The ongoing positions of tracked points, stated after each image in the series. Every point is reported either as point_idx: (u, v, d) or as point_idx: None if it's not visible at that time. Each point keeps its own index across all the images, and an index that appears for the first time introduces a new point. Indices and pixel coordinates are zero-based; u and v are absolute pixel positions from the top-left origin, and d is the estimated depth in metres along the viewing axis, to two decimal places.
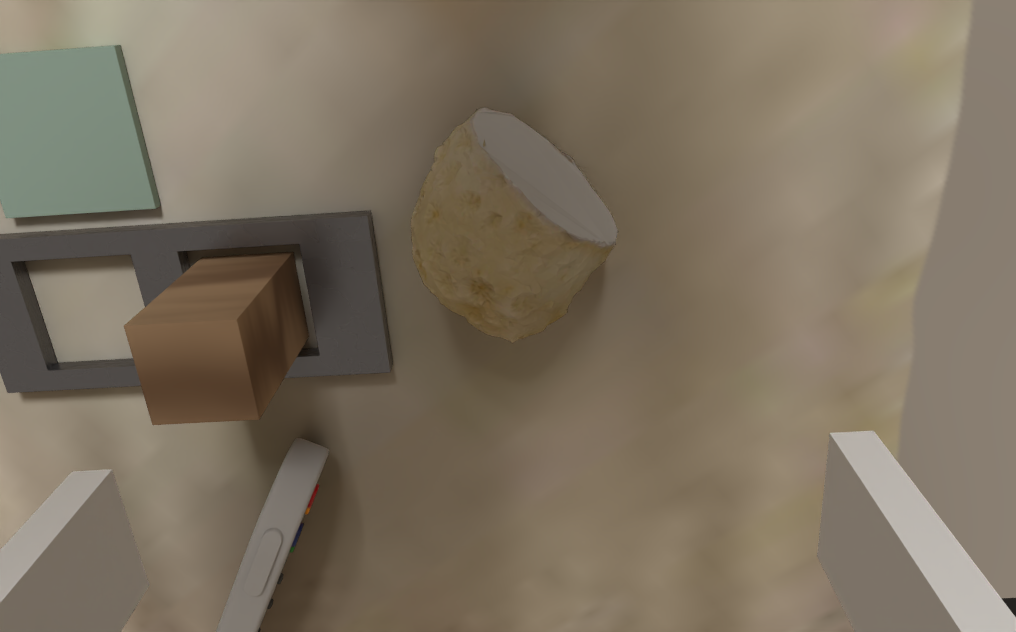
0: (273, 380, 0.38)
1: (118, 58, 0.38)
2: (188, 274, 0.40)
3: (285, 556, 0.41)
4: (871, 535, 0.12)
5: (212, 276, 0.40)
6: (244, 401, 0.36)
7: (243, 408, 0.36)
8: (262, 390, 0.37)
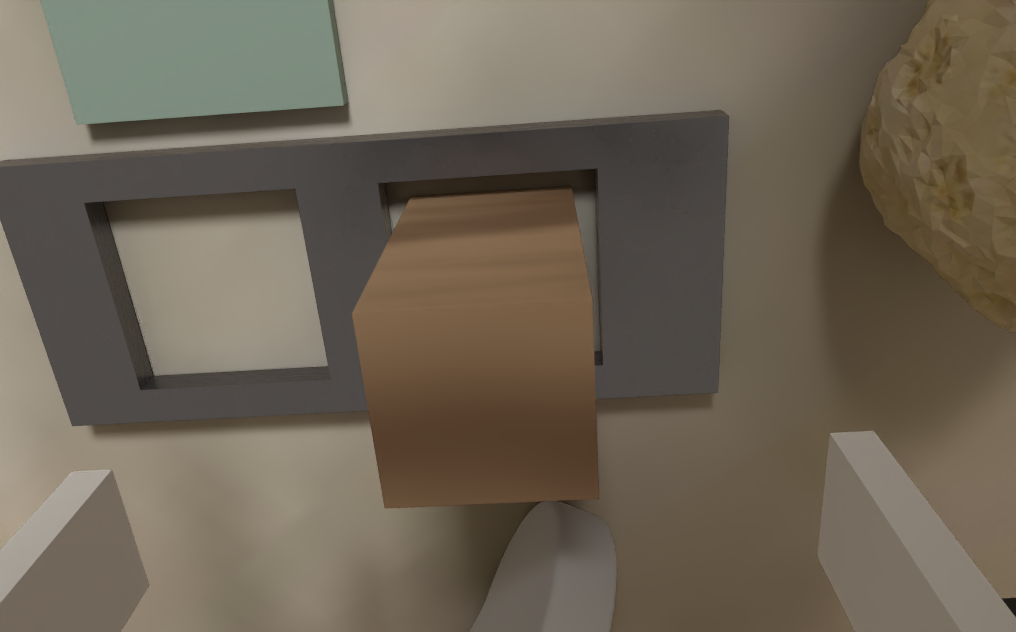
0: None
1: None
2: (409, 221, 0.22)
3: None
4: (871, 536, 0.12)
5: (460, 224, 0.22)
6: (575, 464, 0.18)
7: (571, 478, 0.18)
8: None
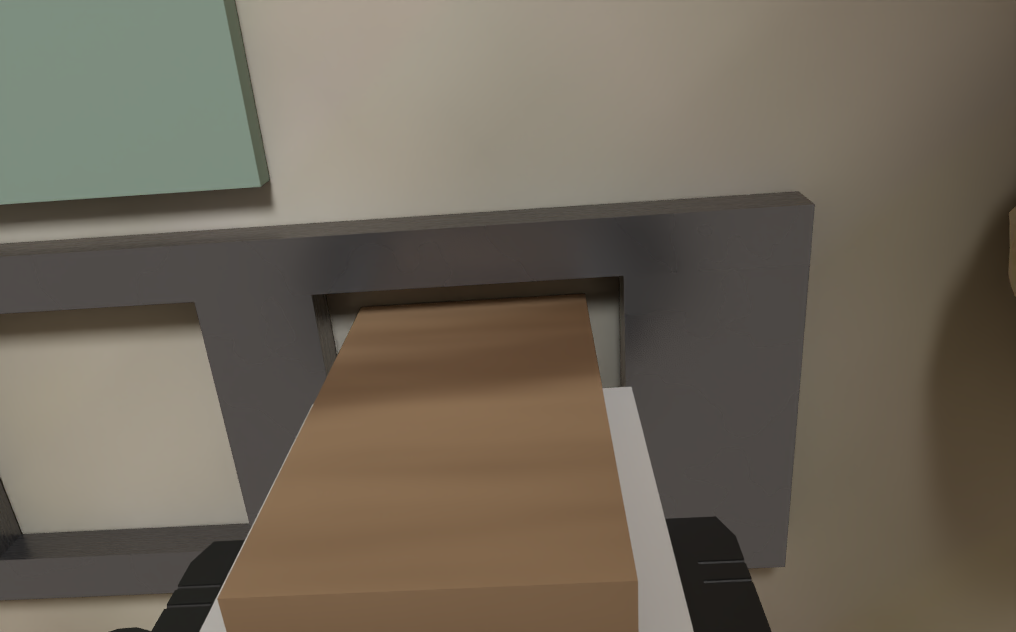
0: None
1: None
2: (352, 359, 0.15)
3: None
4: None
5: (423, 368, 0.15)
6: None
7: None
8: None
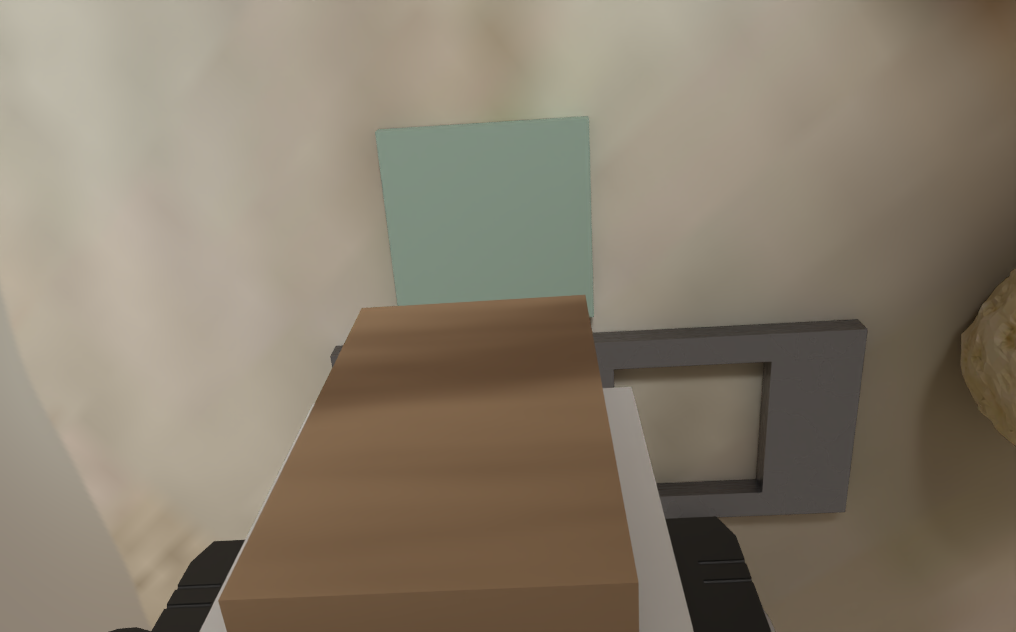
0: None
1: None
2: (352, 361, 0.15)
3: None
4: None
5: (424, 369, 0.15)
6: None
7: None
8: None
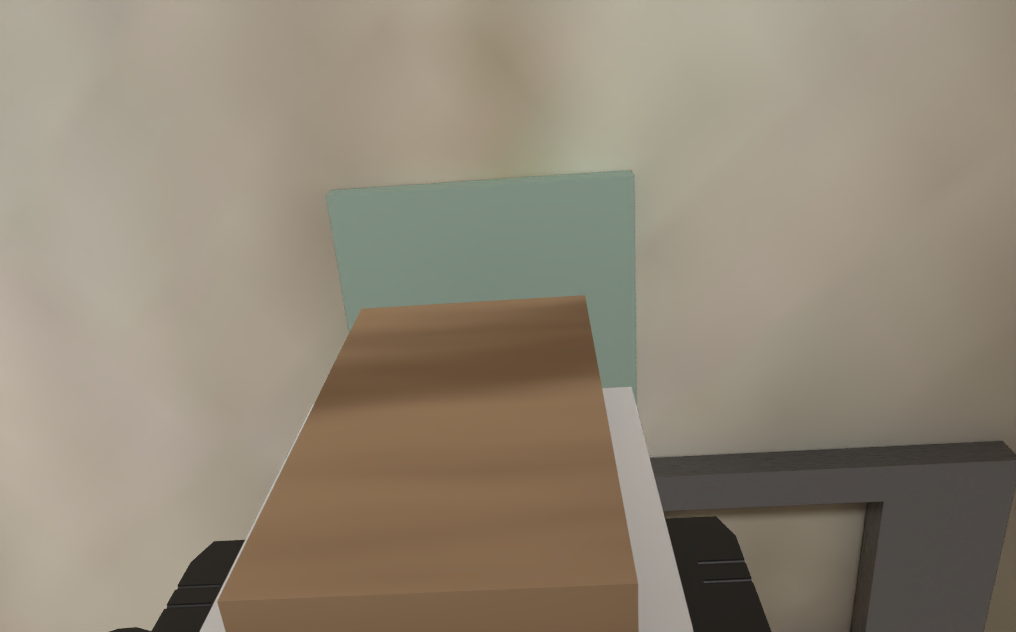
0: None
1: (634, 197, 0.20)
2: (352, 361, 0.15)
3: None
4: None
5: (423, 370, 0.15)
6: None
7: None
8: None
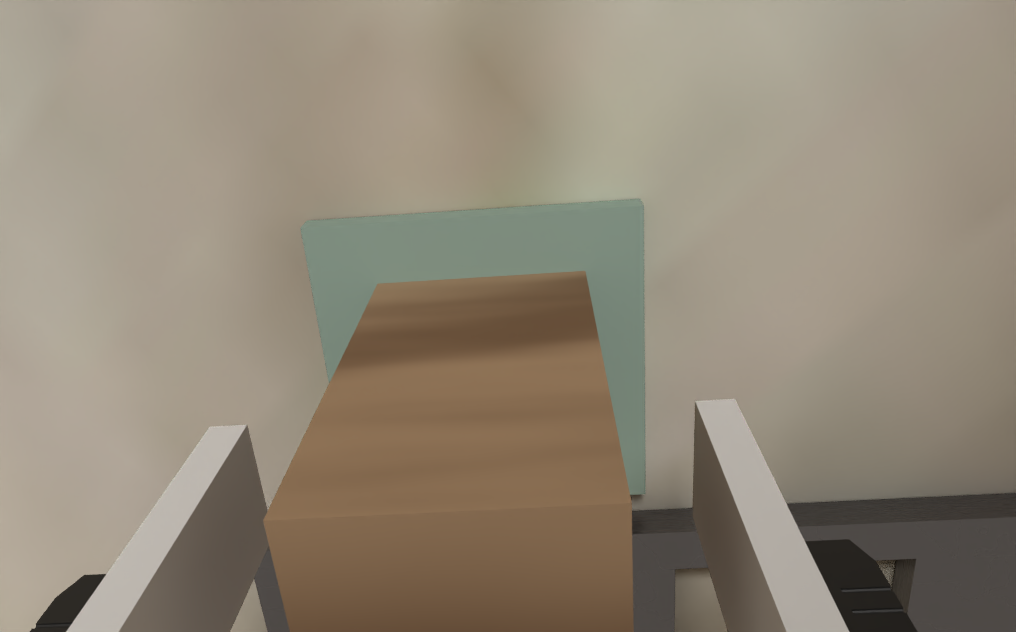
0: None
1: (643, 228, 0.18)
2: (371, 328, 0.17)
3: None
4: (717, 490, 0.14)
5: (437, 335, 0.16)
6: None
7: None
8: None
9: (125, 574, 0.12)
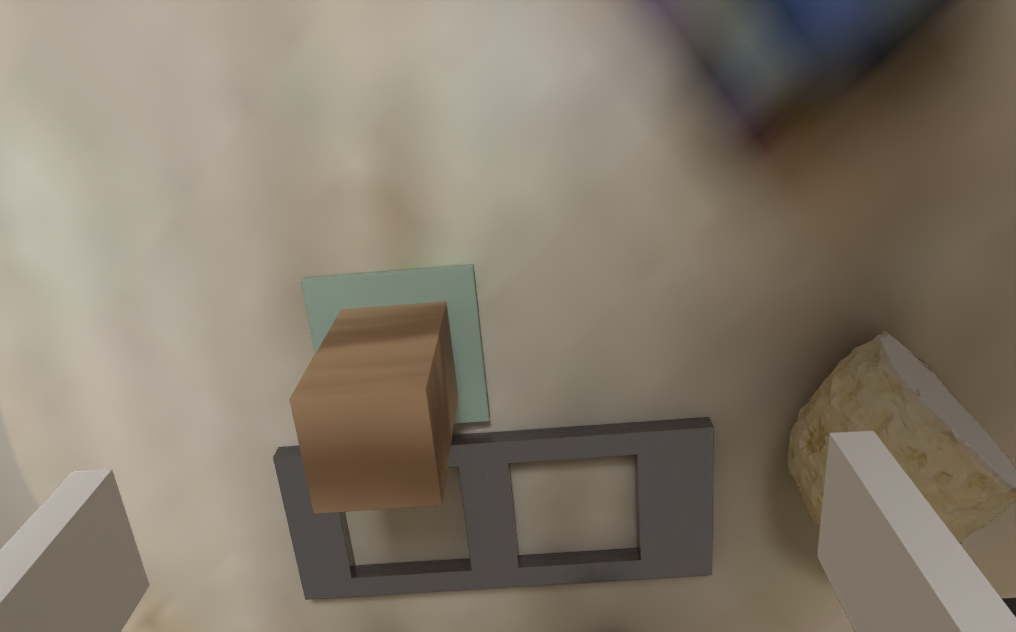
0: (445, 455, 0.33)
1: (474, 279, 0.37)
2: (335, 331, 0.35)
3: None
4: (871, 536, 0.12)
5: (366, 333, 0.34)
6: (426, 484, 0.30)
7: (424, 492, 0.30)
8: (441, 469, 0.31)
9: None
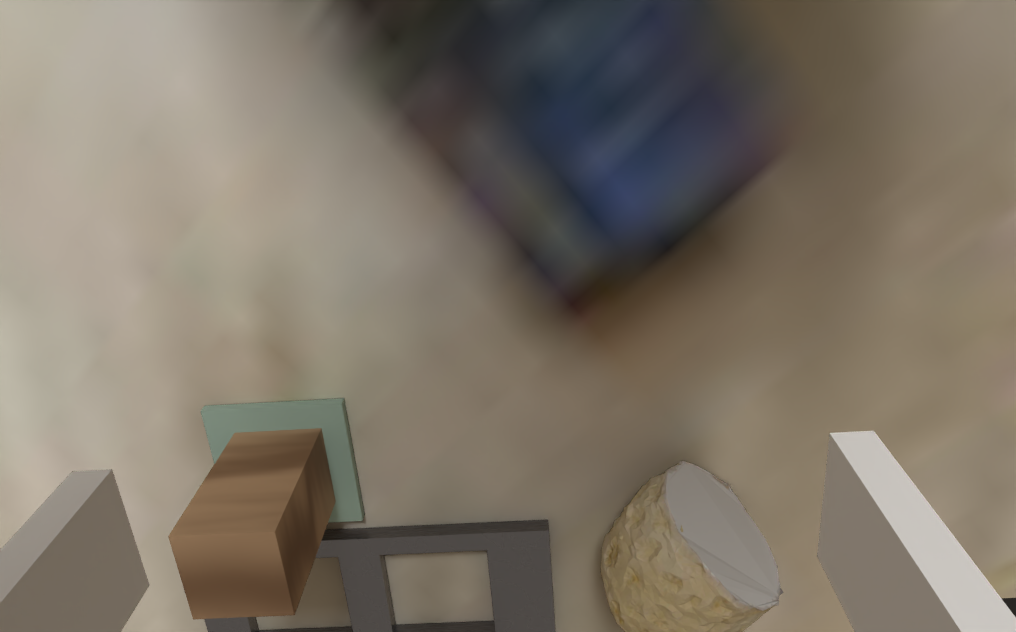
0: (306, 567, 0.40)
1: (343, 412, 0.44)
2: (223, 459, 0.42)
3: None
4: (871, 535, 0.12)
5: (247, 463, 0.42)
6: (280, 599, 0.38)
7: (279, 605, 0.38)
8: (296, 584, 0.39)
9: None
